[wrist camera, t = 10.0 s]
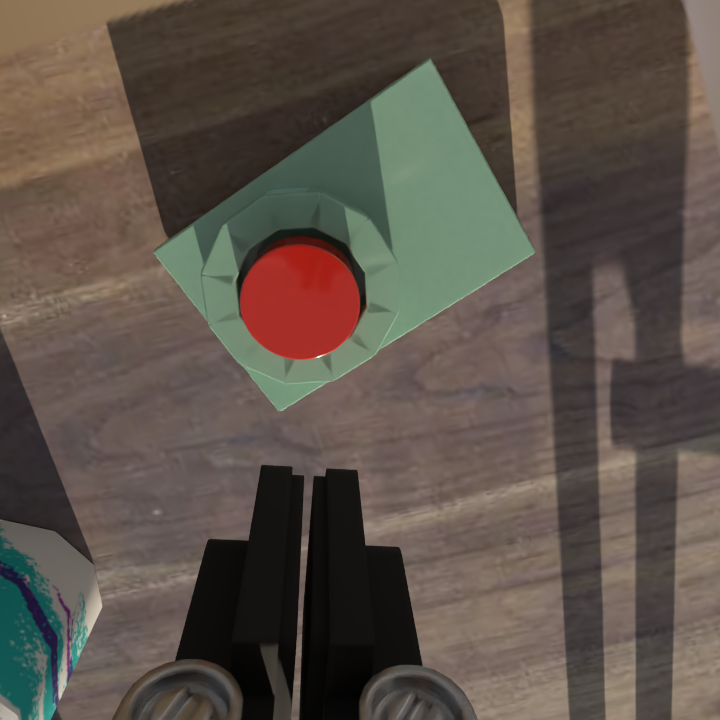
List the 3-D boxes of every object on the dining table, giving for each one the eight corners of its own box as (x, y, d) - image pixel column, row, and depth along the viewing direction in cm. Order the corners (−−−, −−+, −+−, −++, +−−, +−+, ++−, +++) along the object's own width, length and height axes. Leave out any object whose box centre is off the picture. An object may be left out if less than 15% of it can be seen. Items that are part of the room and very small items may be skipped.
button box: (421, 61, 23) (439, 51, 20) (520, 241, 26) (552, 263, 22) (165, 240, 25) (138, 262, 22) (282, 391, 28) (275, 434, 24)
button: (316, 212, 22) (315, 220, 20) (378, 305, 23) (382, 320, 21) (222, 275, 22) (214, 288, 21) (288, 362, 24) (285, 381, 22)
